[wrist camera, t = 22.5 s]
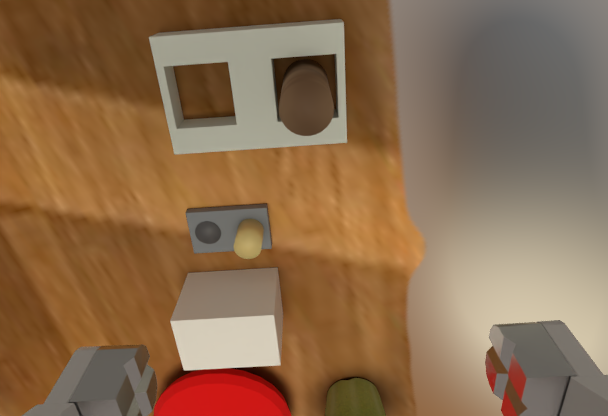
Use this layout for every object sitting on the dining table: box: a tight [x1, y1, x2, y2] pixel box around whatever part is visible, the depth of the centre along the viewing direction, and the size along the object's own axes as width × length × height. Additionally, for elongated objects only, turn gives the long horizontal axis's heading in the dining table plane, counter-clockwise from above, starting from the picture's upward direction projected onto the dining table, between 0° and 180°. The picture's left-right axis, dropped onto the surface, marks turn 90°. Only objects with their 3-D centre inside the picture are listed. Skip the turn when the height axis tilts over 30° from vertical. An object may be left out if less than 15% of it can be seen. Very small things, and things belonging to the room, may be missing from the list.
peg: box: [279, 59, 334, 136], centre depth 33 cm, size 4×4×8 cm
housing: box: [170, 267, 283, 371], centre depth 43 cm, size 9×6×7 cm, turn 94°
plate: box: [186, 204, 272, 259], centre depth 41 cm, size 7×4×4 cm, turn 94°
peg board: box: [149, 19, 347, 155], centre depth 35 cm, size 14×9×2 cm, turn 94°
